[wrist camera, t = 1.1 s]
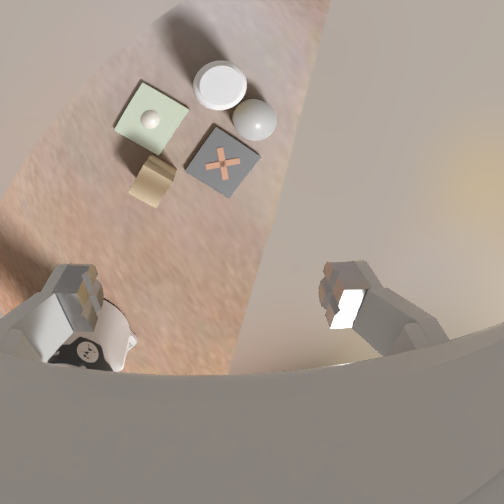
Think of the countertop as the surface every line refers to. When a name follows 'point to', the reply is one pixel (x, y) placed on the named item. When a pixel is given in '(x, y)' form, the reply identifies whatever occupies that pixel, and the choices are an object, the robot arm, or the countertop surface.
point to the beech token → (153, 181)
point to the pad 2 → (222, 162)
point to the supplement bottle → (219, 85)
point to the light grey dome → (254, 119)
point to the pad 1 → (151, 119)
